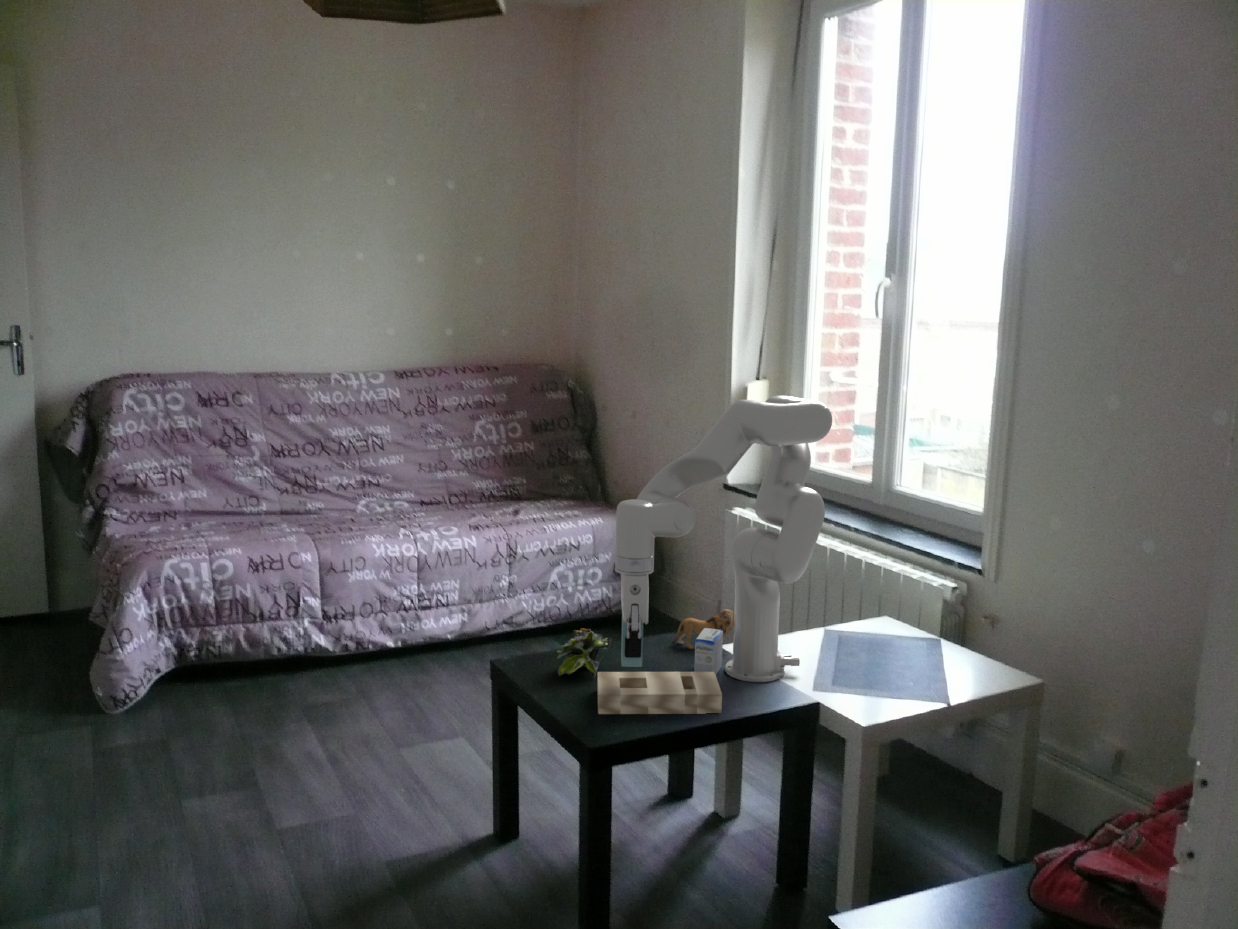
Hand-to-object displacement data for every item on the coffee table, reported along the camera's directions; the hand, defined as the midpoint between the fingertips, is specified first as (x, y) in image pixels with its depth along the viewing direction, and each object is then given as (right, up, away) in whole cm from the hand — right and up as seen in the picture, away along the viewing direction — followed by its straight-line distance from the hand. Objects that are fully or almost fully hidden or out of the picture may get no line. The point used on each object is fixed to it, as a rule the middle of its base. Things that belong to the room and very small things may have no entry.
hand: (632, 652), depth 212 cm
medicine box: (+17, -8, +18) cm, 26 cm away
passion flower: (-10, -8, +17) cm, 21 cm away
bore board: (+5, -10, +2) cm, 12 cm away
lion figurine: (+17, -5, +35) cm, 39 cm away
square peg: (0, -2, 0) cm, 2 cm away
